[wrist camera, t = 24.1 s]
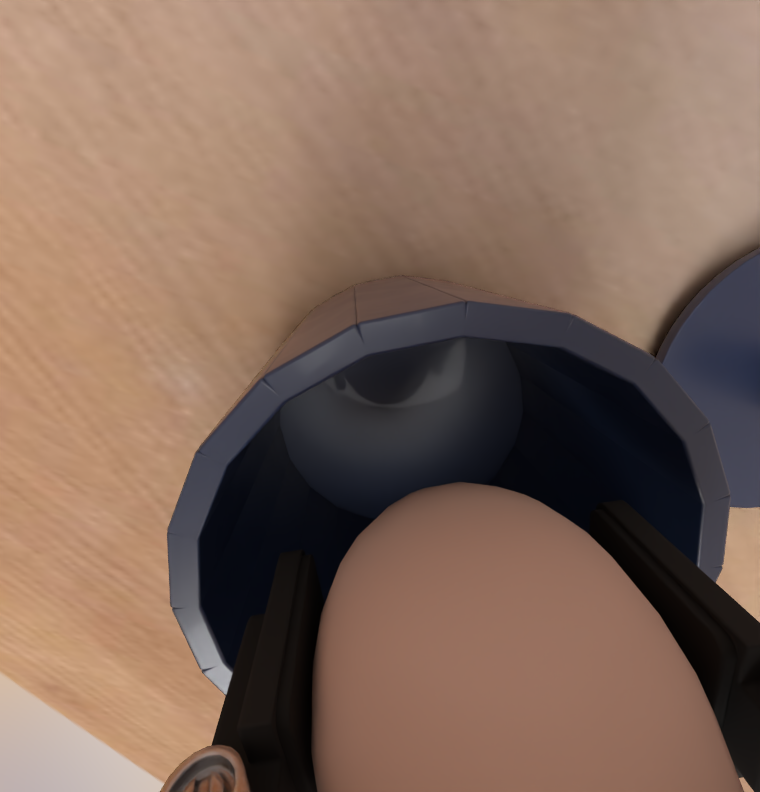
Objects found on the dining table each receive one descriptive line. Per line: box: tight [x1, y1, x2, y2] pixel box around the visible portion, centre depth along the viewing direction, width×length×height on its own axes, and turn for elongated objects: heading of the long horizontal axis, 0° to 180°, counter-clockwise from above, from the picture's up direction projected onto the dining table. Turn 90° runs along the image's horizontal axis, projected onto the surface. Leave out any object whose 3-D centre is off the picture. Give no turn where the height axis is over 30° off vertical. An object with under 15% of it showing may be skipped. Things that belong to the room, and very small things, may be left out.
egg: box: [311, 482, 744, 792], centre depth 8 cm, size 7×7×10 cm
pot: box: [167, 275, 731, 695], centre depth 15 cm, size 13×13×12 cm
